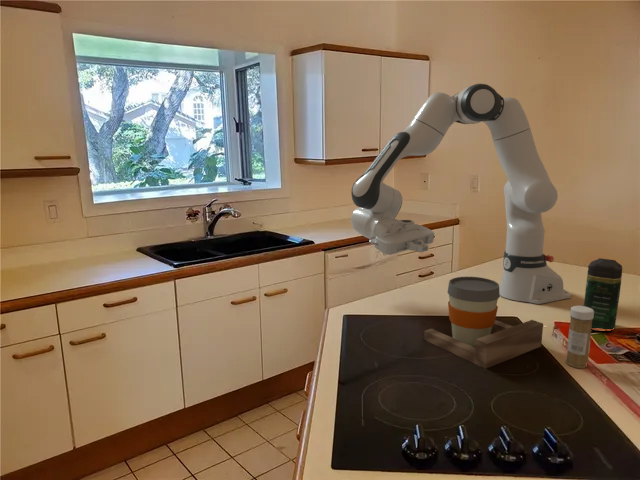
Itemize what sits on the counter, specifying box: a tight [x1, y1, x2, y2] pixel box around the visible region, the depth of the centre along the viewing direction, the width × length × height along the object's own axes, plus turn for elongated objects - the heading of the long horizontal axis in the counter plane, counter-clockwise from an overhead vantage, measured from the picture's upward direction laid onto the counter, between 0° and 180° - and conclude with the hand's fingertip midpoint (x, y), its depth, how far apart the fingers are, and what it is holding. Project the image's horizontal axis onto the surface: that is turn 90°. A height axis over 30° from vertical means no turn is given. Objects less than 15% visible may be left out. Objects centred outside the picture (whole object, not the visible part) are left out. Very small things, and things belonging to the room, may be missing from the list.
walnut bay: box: [423, 319, 544, 370], centre depth 119 cm, size 19×21×6 cm
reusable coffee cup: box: [447, 276, 500, 347], centre depth 120 cm, size 13×13×15 cm
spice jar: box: [565, 305, 594, 369], centre depth 106 cm, size 5×5×14 cm
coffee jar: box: [583, 257, 623, 329], centre depth 127 cm, size 10×8×19 cm
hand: (424, 249), depth 136 cm, fingers closed
